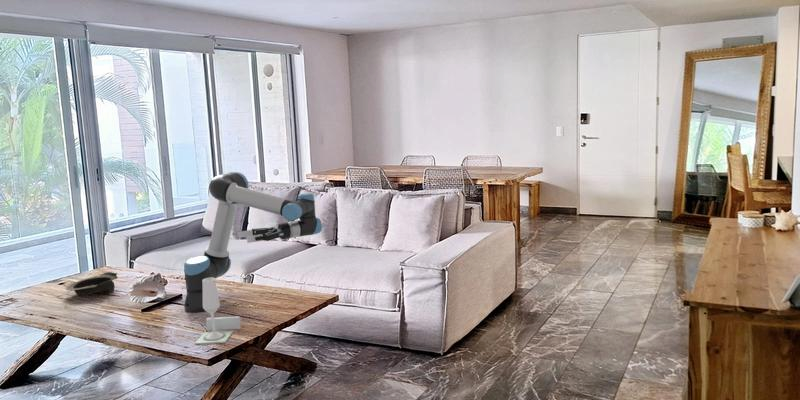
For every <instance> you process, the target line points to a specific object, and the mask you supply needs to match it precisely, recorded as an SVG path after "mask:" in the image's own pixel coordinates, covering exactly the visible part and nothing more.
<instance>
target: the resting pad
mask: <svg viewBox="0 0 800 400" xmlns="http://www.w3.org/2000/svg"><path fill="white" fill-rule="evenodd" d="M212 332H213V331H205V332H203V333H202V335H200V337H199V338H198V339H197V340H196V342H194V345H195V346H196V345H211V344H213V345H215V344H225V343H227V341H228V340H229V339H230V338H231V336H232V335H233V333H234V330H216V332H218V333H221V334H223V336H222V337H221V338H218V339H212V340H210V339H207V338H206V337H207V336H208V335H209V334H211V333H212Z"/></svg>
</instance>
